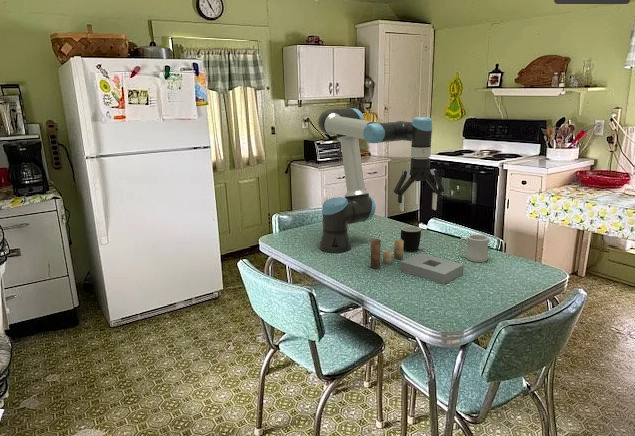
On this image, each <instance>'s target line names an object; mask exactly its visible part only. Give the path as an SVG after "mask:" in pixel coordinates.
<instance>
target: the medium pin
mask: <svg viewBox="0 0 635 436" xmlns="http://www.w3.org/2000/svg"><path fill="white" fill-rule="evenodd" d="M393 244H394V246H393V252H394V253H393V259H395V260H403V259H404V250H403V247H404V240H401V238H397V239H394V241H393Z"/></svg>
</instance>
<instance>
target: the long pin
mask: <svg viewBox="0 0 635 436" xmlns="http://www.w3.org/2000/svg"><path fill="white" fill-rule="evenodd" d="M381 243H382V241H381V239H380V238H372V239H370V269H373V270H379V269H381V245H382V244H381Z"/></svg>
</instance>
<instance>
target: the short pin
mask: <svg viewBox="0 0 635 436" xmlns="http://www.w3.org/2000/svg"><path fill="white" fill-rule="evenodd" d="M382 264H383V265H391V264H393V250H389V249H385V250H382Z"/></svg>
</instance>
